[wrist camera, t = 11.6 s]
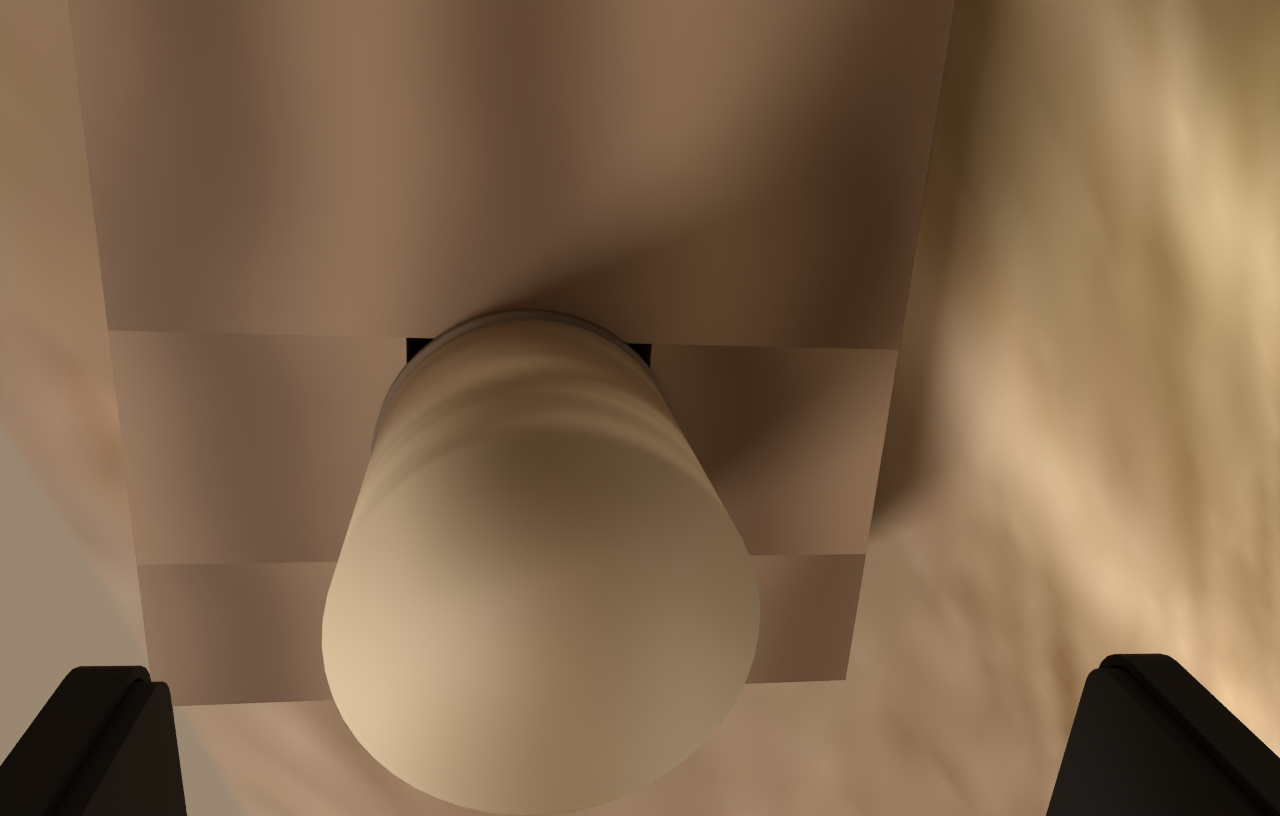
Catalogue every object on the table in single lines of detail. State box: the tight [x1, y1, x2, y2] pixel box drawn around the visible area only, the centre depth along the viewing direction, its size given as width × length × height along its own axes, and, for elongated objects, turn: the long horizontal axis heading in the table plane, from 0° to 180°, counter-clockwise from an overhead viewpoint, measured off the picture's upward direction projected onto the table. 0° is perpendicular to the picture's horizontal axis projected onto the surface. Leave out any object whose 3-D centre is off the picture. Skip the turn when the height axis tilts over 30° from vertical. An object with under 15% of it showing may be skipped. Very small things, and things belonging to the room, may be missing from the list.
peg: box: [322, 309, 760, 815], centre depth 18 cm, size 6×6×11 cm
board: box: [68, 0, 956, 706], centre depth 21 cm, size 16×20×5 cm
